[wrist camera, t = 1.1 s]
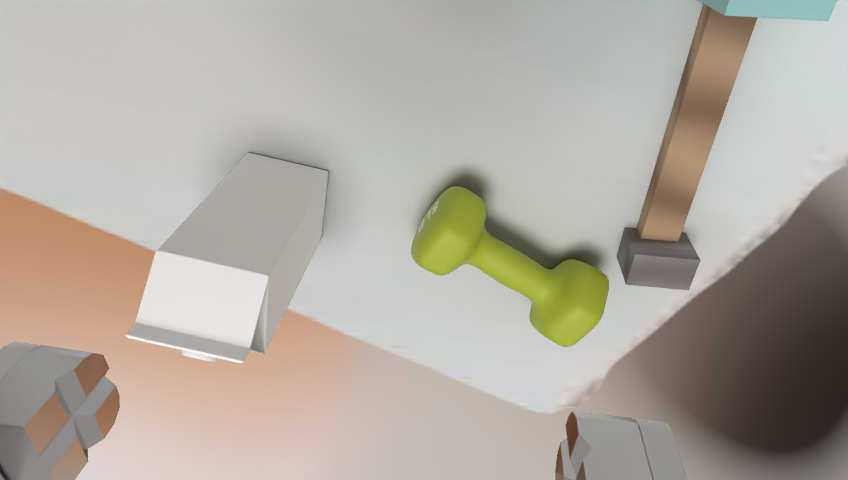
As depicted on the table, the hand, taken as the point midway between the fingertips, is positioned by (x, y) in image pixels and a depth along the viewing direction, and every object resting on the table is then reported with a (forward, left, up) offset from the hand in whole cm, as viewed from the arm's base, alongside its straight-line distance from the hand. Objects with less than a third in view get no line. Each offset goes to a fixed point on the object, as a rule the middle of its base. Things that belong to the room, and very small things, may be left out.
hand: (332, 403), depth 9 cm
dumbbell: (+19, +6, -35) cm, 40 cm away
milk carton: (+16, -14, -35) cm, 41 cm away
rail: (+4, +18, -34) cm, 39 cm away
